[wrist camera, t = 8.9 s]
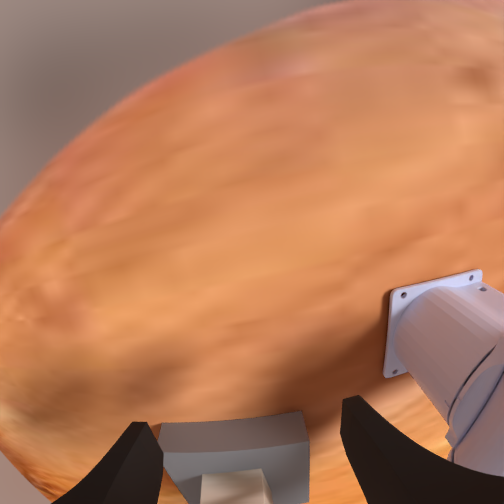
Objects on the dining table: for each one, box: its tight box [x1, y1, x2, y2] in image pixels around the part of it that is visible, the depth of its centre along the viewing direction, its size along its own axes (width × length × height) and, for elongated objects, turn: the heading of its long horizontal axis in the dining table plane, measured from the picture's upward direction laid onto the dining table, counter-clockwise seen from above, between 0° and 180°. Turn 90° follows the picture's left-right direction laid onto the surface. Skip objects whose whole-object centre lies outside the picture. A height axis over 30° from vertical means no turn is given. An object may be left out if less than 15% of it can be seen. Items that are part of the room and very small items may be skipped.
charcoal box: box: [157, 411, 310, 504], centre depth 22 cm, size 12×12×4 cm
